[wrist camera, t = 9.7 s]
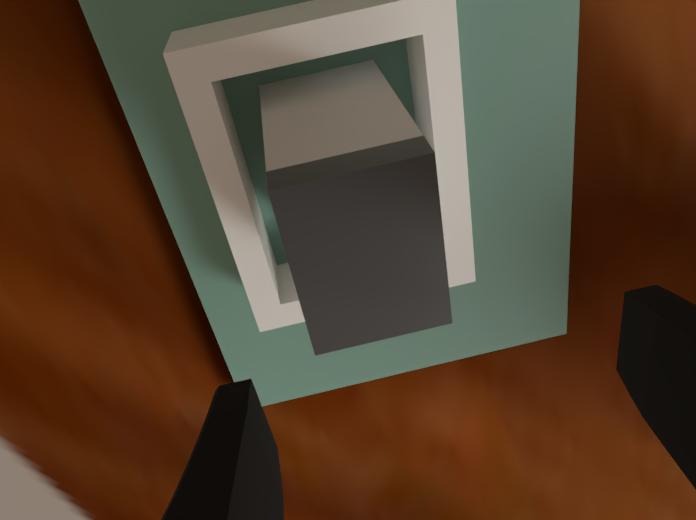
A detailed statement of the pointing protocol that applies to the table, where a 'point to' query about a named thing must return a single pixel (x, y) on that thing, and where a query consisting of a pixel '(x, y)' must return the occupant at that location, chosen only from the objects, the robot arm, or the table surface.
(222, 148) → the socket board
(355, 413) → the table surface
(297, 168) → the plug
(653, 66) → the table surface
